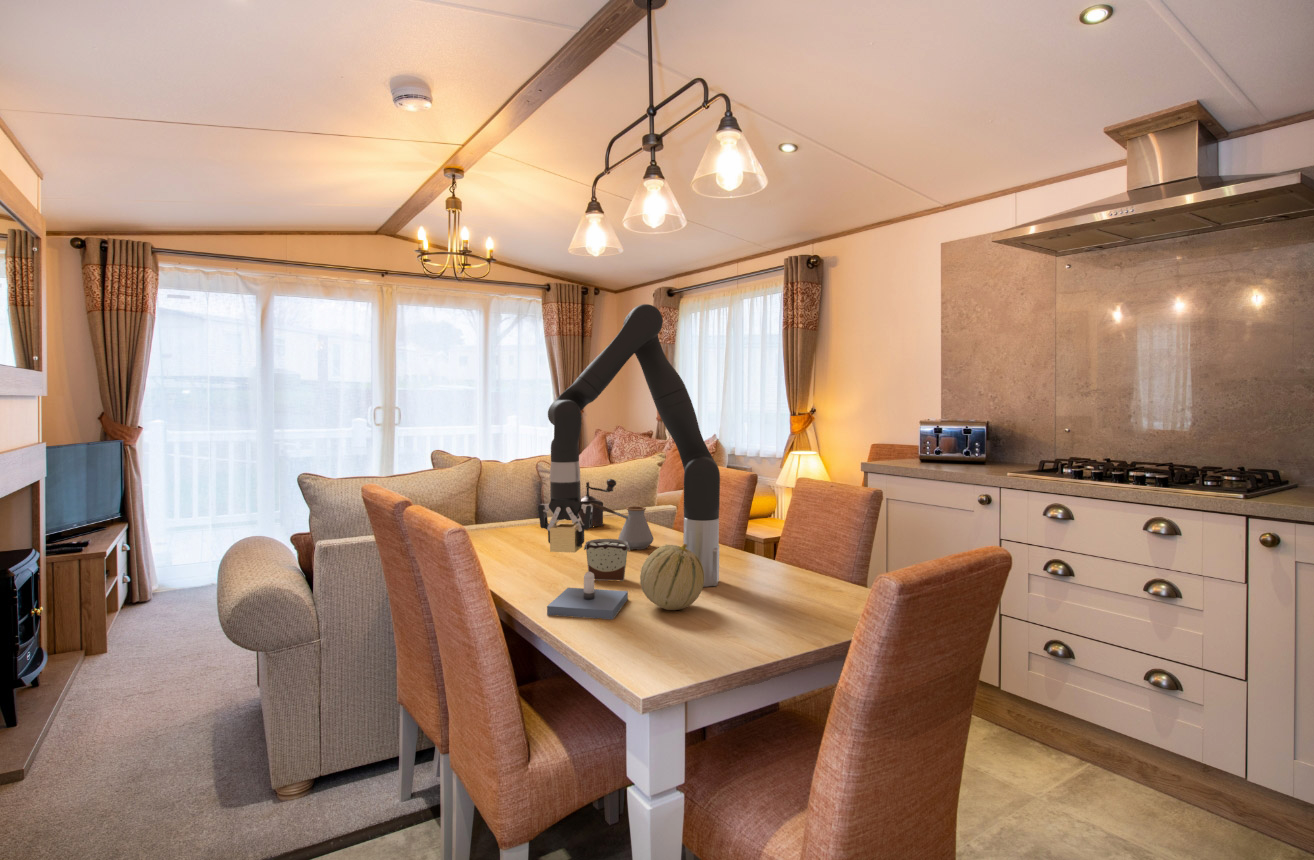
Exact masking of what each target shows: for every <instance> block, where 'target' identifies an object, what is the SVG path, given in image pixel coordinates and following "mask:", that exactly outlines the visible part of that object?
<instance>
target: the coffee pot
mask: <svg viewBox="0 0 1314 860" xmlns="http://www.w3.org/2000/svg"><path fill="white" fill-rule="evenodd" d="M590 504H592V505H593V506H595V507H596V508H597V507H598V508H600V509H601V510H603V512H607V513H609V514H613V515H616V516H618V517H621V518H623V519H625V522H624V524H623V526H622V529H621V531H620V533H619V536H618V539H619V540H624V541H626V542H628V545H629V549H630V550H633V549H637V550H645V549H648V547H649V546H650V545H652V543H653V542H654V536H653V533H652V531H651V528H650V526H649V523H648V522H647V519H646V516H645V511H646V510H647V508H646V507H645V506H636V505H635V506H628V507H626V508H625V509H626V510H627V513H628V514H627V515H625V514H622V513H619V512H616V511H615V510H612V509H611V508H608V507H606V506H604V505H603V506H599V505H598V504H594V503H590ZM590 504H589V505H590Z"/></svg>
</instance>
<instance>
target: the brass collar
mask: <svg viewBox="0 0 1314 860" xmlns="http://www.w3.org/2000/svg"><path fill="white" fill-rule="evenodd" d="M577 532H578V530H577V527H576V526H575V524H573V523H572V522H571V523H569V522H568V523H567V522H564V523H563V522H557V524H556V525H554V526H552V527H550V543H549V552H550V553H572V554H573V553H574V554H575V553H576V552H578V551H579V550H580V549H581V548H583V544H582V545H581V546H577Z"/></svg>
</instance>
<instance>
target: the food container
mask: <svg viewBox="0 0 1314 860" xmlns="http://www.w3.org/2000/svg"><path fill="white" fill-rule="evenodd" d="M583 551H586V561H587V572H592V573H593V574H594V579H595V580H594V581H608V580H620V581H619V582H625V576H626V575H625V574H626V566H627V559H628V558H627V557H628V552H630V551H631V549H629V545H628V542H626V541H624V540H619V539H616V538H597V539H591V540H588V541H586V542H585V545H584V548H583Z"/></svg>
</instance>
